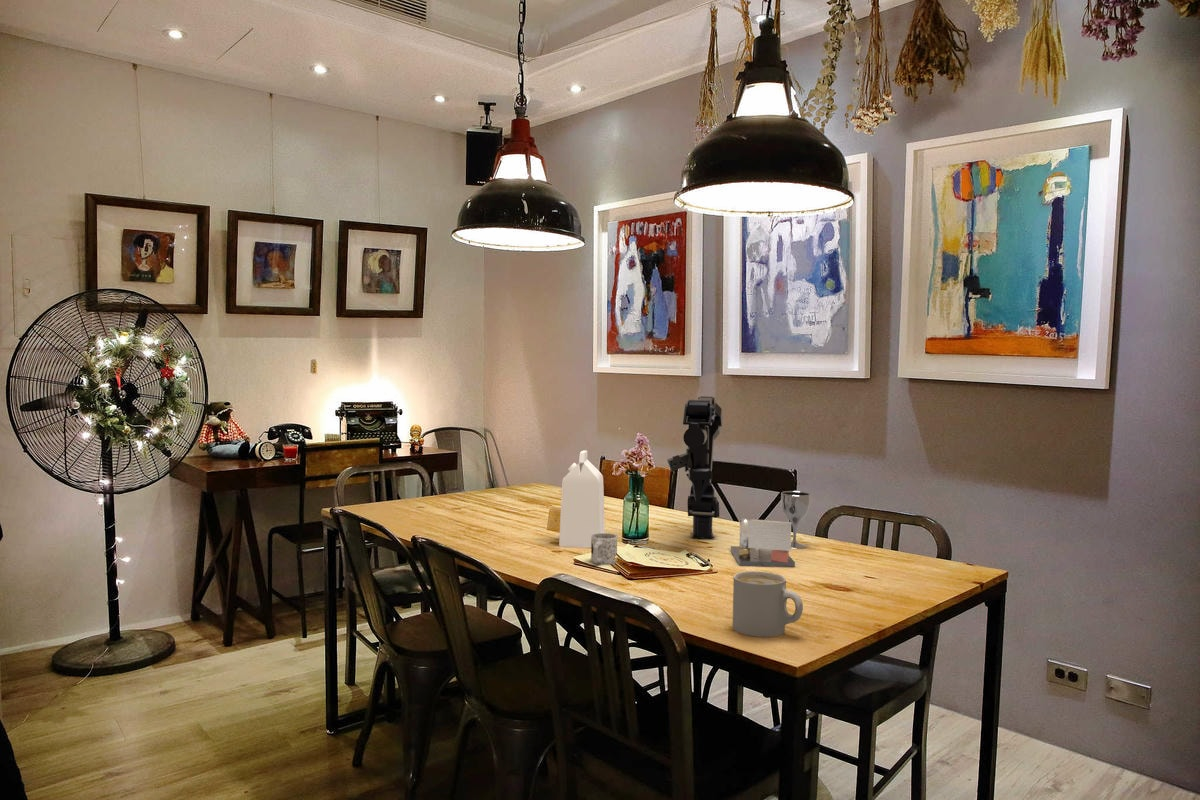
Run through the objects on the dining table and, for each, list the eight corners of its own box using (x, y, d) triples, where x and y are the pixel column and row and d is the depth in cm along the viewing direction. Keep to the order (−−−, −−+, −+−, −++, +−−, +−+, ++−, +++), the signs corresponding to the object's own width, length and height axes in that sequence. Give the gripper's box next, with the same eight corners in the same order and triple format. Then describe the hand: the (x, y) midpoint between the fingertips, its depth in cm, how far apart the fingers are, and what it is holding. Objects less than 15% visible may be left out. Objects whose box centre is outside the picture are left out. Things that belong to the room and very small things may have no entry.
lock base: (730, 550, 225) (730, 537, 225) (781, 551, 225) (782, 538, 224) (739, 566, 208) (739, 552, 207) (795, 567, 207) (795, 553, 207)
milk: (600, 548, 226) (601, 454, 225) (559, 546, 227) (560, 453, 226) (605, 539, 238) (606, 449, 237) (565, 537, 239) (566, 448, 238)
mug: (596, 557, 215) (596, 532, 215) (620, 560, 213) (620, 534, 213) (582, 566, 206) (582, 539, 206) (606, 568, 204) (607, 542, 203)
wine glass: (806, 543, 235) (807, 491, 235) (810, 549, 228) (812, 495, 227) (778, 542, 236) (779, 490, 236) (781, 548, 228) (783, 495, 228)
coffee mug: (722, 628, 159) (723, 577, 158) (750, 617, 166) (751, 568, 165) (783, 645, 149) (784, 591, 149) (810, 632, 157) (811, 581, 156)
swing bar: (738, 547, 211) (739, 520, 211) (740, 544, 214) (740, 518, 214) (789, 551, 207) (790, 523, 207) (790, 548, 210) (791, 521, 210)
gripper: (667, 441, 237) (666, 495, 238) (671, 448, 218) (670, 506, 219) (706, 442, 237) (705, 495, 237) (713, 448, 218) (712, 506, 219)
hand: (697, 500), depth 228 cm, fingers closed
